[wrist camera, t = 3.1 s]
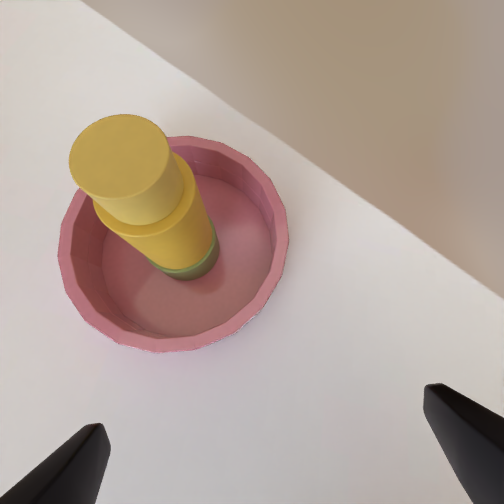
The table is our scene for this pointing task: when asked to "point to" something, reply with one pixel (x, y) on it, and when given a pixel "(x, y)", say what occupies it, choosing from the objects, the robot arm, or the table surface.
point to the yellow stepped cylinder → (145, 194)
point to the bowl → (171, 290)
